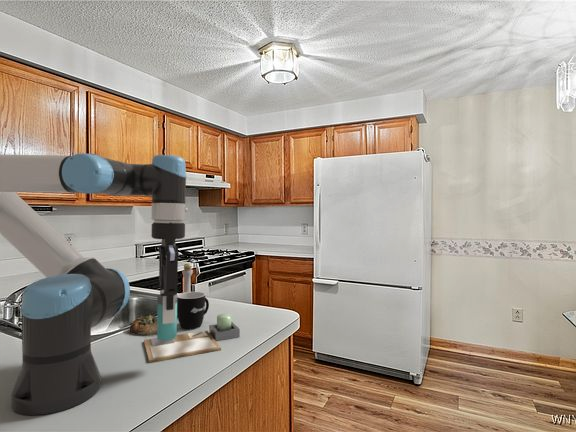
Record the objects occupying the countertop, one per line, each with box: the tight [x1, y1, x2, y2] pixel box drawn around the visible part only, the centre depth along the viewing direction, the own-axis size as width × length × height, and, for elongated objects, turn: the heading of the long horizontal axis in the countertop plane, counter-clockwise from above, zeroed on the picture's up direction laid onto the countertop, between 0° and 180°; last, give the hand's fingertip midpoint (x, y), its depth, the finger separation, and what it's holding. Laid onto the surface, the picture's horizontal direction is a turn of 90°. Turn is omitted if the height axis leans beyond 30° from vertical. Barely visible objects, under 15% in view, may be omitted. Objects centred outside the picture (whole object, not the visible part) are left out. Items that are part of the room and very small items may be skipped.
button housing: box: [208, 321, 241, 342], centre depth 106 cm, size 7×7×2 cm
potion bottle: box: [181, 263, 194, 293], centre depth 126 cm, size 9×9×18 cm
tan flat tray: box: [143, 329, 222, 364], centre depth 98 cm, size 18×15×1 cm
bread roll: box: [129, 314, 157, 336], centre depth 111 cm, size 11×11×5 cm
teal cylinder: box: [156, 293, 178, 341], centre depth 85 cm, size 4×4×10 cm
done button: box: [216, 313, 232, 331], centre depth 106 cm, size 4×4×4 cm
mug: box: [177, 291, 210, 330], centre depth 115 cm, size 12×9×10 cm
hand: (167, 319), depth 85 cm, fingers closed on teal cylinder, 4 cm apart
